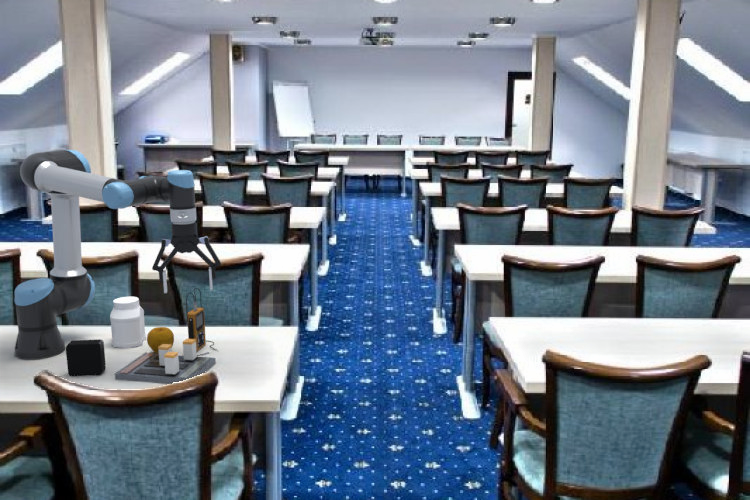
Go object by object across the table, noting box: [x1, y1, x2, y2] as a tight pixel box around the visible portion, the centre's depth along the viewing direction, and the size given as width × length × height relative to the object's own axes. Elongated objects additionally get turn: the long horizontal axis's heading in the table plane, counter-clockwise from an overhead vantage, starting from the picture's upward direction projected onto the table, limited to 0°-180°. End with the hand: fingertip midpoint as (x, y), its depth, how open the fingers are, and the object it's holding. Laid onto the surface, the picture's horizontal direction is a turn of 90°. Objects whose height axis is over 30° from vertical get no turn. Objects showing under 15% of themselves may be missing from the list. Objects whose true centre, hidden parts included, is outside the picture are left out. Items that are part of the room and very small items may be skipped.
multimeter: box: [185, 287, 220, 357], centre depth 249 cm, size 15×10×20 cm
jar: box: [109, 296, 147, 349], centre depth 256 cm, size 12×10×15 cm
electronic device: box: [65, 339, 107, 377], centre depth 229 cm, size 4×10×10 cm, turn 95°
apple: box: [146, 326, 175, 354], centre depth 246 cm, size 8×8×9 cm
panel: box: [114, 352, 217, 384], centre depth 232 cm, size 24×18×2 cm
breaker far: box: [182, 338, 198, 360], centre depth 235 cm, size 3×3×6 cm
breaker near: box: [164, 351, 179, 374], centre depth 224 cm, size 3×3×6 cm
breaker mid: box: [158, 344, 173, 366], centre depth 231 cm, size 3×3×6 cm
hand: (188, 290), depth 233 cm, fingers open, 13 cm apart
